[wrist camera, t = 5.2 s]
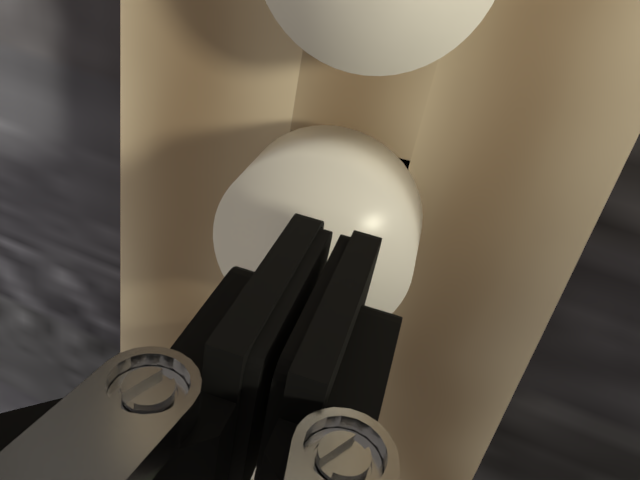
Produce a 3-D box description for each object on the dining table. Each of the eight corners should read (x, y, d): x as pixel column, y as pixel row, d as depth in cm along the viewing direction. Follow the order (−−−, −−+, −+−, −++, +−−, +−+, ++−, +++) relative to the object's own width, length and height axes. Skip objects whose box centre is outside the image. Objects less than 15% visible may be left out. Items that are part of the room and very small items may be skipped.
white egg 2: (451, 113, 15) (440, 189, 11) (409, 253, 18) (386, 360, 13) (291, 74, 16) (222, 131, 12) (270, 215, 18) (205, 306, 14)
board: (982, -741, 9) (1197, -1022, 6) (458, 444, 22) (455, 514, 19) (213, -793, 10) (120, -1039, 7) (160, 351, 23) (120, 404, 21)
